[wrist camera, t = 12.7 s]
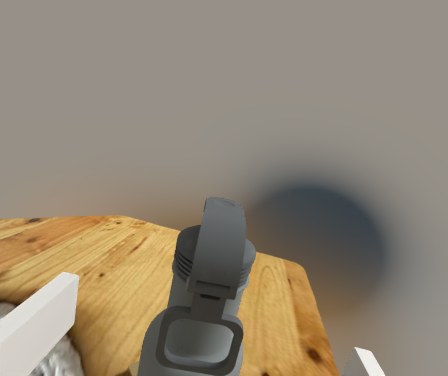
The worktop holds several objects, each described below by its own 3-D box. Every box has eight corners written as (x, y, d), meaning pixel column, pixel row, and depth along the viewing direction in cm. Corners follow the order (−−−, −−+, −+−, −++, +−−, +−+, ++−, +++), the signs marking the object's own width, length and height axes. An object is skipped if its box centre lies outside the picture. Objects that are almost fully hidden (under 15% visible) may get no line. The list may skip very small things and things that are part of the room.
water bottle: (212, 529, 22) (298, 249, 16) (103, 513, 21) (149, 218, 15) (215, 405, 32) (269, 204, 26) (141, 392, 31) (178, 185, 25)
